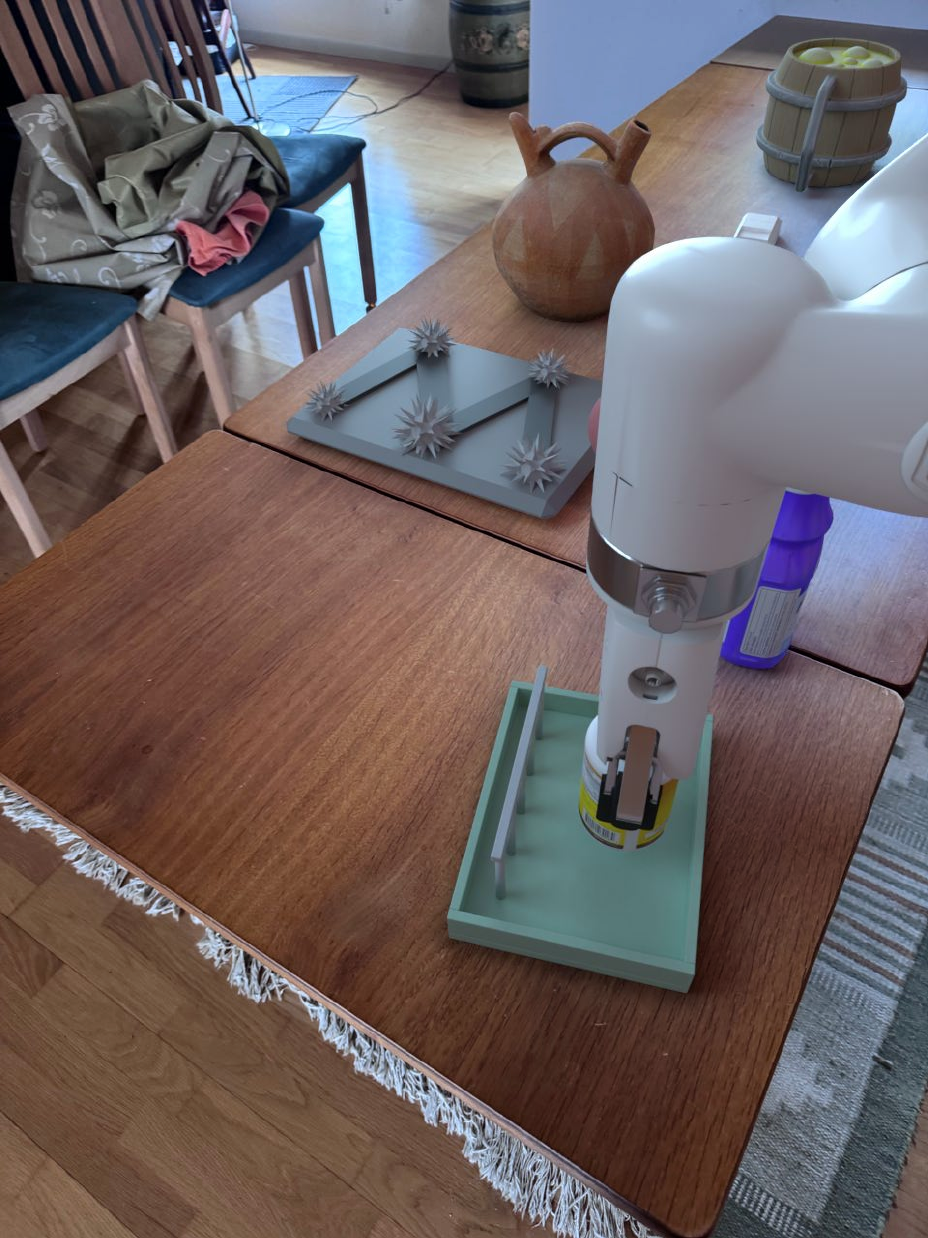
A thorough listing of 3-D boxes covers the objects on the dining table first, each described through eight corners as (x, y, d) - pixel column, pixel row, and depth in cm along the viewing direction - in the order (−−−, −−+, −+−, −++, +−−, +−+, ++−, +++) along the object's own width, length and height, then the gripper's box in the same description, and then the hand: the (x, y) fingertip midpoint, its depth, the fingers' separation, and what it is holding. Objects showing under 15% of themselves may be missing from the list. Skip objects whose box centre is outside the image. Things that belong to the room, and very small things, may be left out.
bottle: (782, 684, 64) (850, 500, 52) (704, 667, 66) (752, 483, 53) (791, 615, 69) (855, 430, 56) (717, 600, 70) (764, 417, 58)
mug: (726, 197, 124) (747, 77, 113) (765, 138, 138) (788, 26, 127) (865, 217, 118) (902, 92, 107) (891, 153, 132) (925, 37, 121)
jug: (473, 327, 101) (468, 141, 87) (514, 258, 113) (515, 83, 98) (632, 346, 97) (654, 154, 83) (657, 273, 109) (680, 93, 94)
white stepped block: (779, 234, 115) (783, 214, 113) (766, 264, 109) (771, 243, 107) (741, 229, 116) (745, 209, 114) (726, 258, 111) (730, 237, 109)
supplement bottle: (664, 780, 56) (688, 679, 49) (670, 859, 53) (697, 764, 45) (577, 774, 57) (587, 674, 49) (576, 853, 53) (588, 757, 46)
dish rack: (707, 738, 61) (726, 671, 56) (687, 994, 50) (709, 940, 44) (511, 704, 64) (512, 636, 59) (448, 938, 52) (442, 881, 47)
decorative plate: (645, 409, 89) (654, 345, 84) (550, 533, 77) (553, 468, 71) (399, 340, 100) (393, 280, 95) (282, 439, 88) (267, 377, 83)
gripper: (760, 716, 32) (684, 928, 45) (768, 439, 43) (706, 673, 56) (554, 681, 33) (540, 896, 46) (614, 421, 44) (589, 654, 58)
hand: (631, 772), depth 51 cm, fingers closed on supplement bottle, 5 cm apart
